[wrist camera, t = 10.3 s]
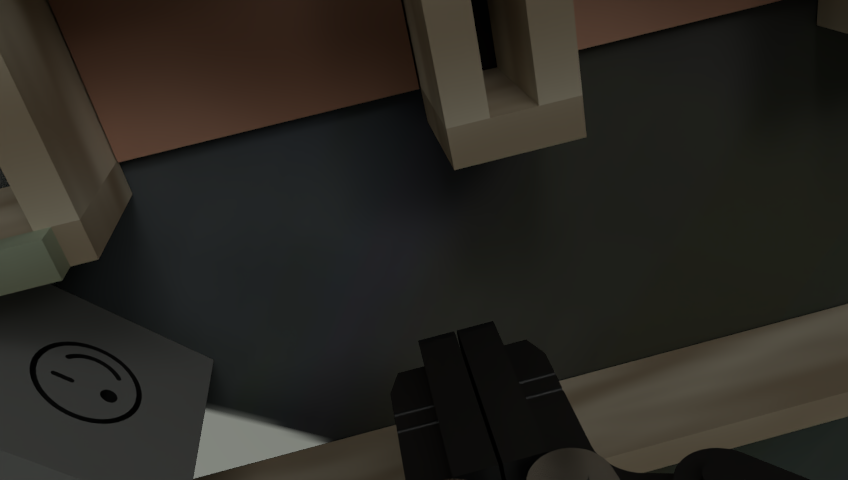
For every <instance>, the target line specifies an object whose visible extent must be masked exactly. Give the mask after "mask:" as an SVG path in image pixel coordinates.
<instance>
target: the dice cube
mask: <svg viewBox="0 0 848 480" xmlns="http://www.w3.org/2000/svg"><path fill="white" fill-rule="evenodd" d="M213 361H214V360H213V359H210V358H208V357H206V356H204V355H202V354H200V353H198V352H195V351H193V350H191V349H189V348H187V347H185V346H182V345H180V344H178V343H176V342H174V341H172V340H170V339H167V338H165V337H163V336H161V335H159V334H157V333H154V332H152V331H150V330H148V329H146V328H144V327H142V326H139V325H137V324H135V323H133V322H131V321H129V320H126V319H124V318H122V317H120V316H118V315H116V314H114V313H111V312H109V311H107V310H105V309H103V308H101V307H98V306H96V305H94V304H92V303H90V302H88V301H86V300H83V299H81V298H79V297H77V296H75V295H73V294H70V293H68V292H66V291H64V290H62V289H60V288H58V287H55V286H53V285H51V284H46V285H42V286H38V287H34V288H30V289H26V290H22V291H18V292H14V293H10V294H6V295H2V296H0V480H193V476H194V470H195V465H196V459H197V453H198V447H199V441H200V436H201V430H202V424H203V419H204V413H205V407H206V402H207V396H208V390H209V384H210V379H211V373H212V367H213Z"/></svg>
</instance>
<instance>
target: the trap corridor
mask: <svg viewBox="0 0 848 480" xmlns="http://www.w3.org/2000/svg"><path fill="white" fill-rule="evenodd" d="M777 1H781V0H487V3H488V10H489V16H490V23H491V30H492V36H493V43H494V49H495V56H496V62H497V67H496V68H492V69H488V70H484V71H482V65H481V59H480V53H479V47H478V41H477V35H476V29H475V22H474V16H473V10H472V4H471V0H403V5H404V10H405V15H406V20H407V24H408V29H409V34H410V39H411V44H412V49H413V53H414V58H415V63H416V68H417V73H418V78H419V82H420V87H421V92H422V97H423V102H424V107H425V111H426V116H427V121H428V123H429V125H430V127H431V129H432V130H433V132H434V134H435V136H436V138H437V139H438V141H439V143H440V145H441V147H442V149H443V150H444V152H445V154H446V156H447V158H448V160H449V161H450V163H451V165H452V167H453V169H454V170H457V169H461V168H465V167H469V166H473V165H477V164H481V163H485V162H489V161H493V160H497V159H501V158H505V157H509V156H513V155H517V154H521V153H525V152H529V151H533V150H537V149H541V148H545V147H549V146H553V145H557V144H561V143H565V142H569V141H573V140H577V139H581V138H585V137H587V136H586V126H585V116H584V106H583V96H582V86H581V76H580V66H579V56H578V50H581V49H585V48H589V47H593V46H597V45H601V44H605V43H609V42H613V41H617V40H622V39H626V38H630V37H634V36H638V35H642V34H646V33H650V32H654V31H658V30H662V29H667V28H671V27H675V26H679V25H683V24H687V23H691V22H695V21H699V20H703V19H707V18H712V17H716V16H720V15H724V14H728V13H732V12H736V11H740V10H744V9H748V8H752V7H757V6H761V5H765V4H769V3H773V2H777ZM817 25H818V26H821V27H825V28H828V29H832V30H836V31H839V32H843V33H846V34H848V0H818V12H817ZM417 89H419V85H418V80H417V75H416V70H415V65H414V61H413V56H412V51H411V46H410V41H409V37H408V32H407V27H406V22H405V17H404V12H403V8H402V3H401V0H0V168H1V170H2V171H3V173H4V175H5V177H6V179H7V181H8V183H9V185H10V186H9V187H5V188H0V296H2V295H6V294H10V293H14V292H18V291H22V290H26V289H30V288H34V287H38V286H42V285H46V284H50V283H54V282H58V281H62V280H63V279H64V277H65V275H66V273H67V272H68V270H69V268H70V267H71V266H75V265H79V264H83V263H87V262H90V261H94V260H98V259H99V258H100V256H101V254H102V252H103V250H104V248H105V246H106V244H107V242H108V240H109V239H110V237H111V235H112V233H113V231H114V229H115V227H116V225H117V223H118V221H119V219H120V217H121V215H122V213H123V212H124V210H125V208H126V206H127V204H128V202H129V200H130V198H131V196H132V192H131V190H130V187H129V185H128V183H127V180H126V178H125V176H124V173H123V171H122V169H121V166H120V164H119V162H122V161H127V160H131V159H135V158H139V157H143V156H147V155H151V154H155V153H159V152H163V151H167V150H172V149H176V148H180V147H184V146H188V145H192V144H196V143H200V142H204V141H208V140H212V139H217V138H221V137H225V136H229V135H233V134H237V133H241V132H245V131H249V130H253V129H257V128H262V127H266V126H270V125H274V124H278V123H282V122H286V121H290V120H294V119H298V118H302V117H307V116H311V115H315V114H319V113H323V112H327V111H331V110H335V109H339V108H343V107H347V106H352V105H356V104H360V103H364V102H368V101H372V100H376V99H380V98H384V97H388V96H392V95H397V94H401V93H405V92H409V91H413V90H417ZM559 382H560V384H561V386H562V390H563V391H564V392H565V394H566V396H567V398H568V400H569V402H570V404H571V406H572V408H573V410H574V412H575V414H576V416H577V418H578V420H579V422H580V424H581V426H582V428H583V430H584V432H585V434H586V436H587V438H588V440H589V442H590V444H591V446H592V447H593V449H594V451H595V452H596V453H597V454H598V455H600V456H601V457H603V458H604V459H605V460H606V461H608V462H609V464H611V465H613V466H615V467H617V468H620V469H623V470H626V471H630V472H636V473H645V472H648V471H652V470H655V469H659V468H663V467H666V466H670V465H674V464H677V463H680V461H681V460H682V459H683V458H685V457H686V456H687V455H689V454H691V453H693V452H695V451H698V450H702V449H707V448H726V449H732V448H735V447H739V446H742V445H746V444H750V443H753V442H757V441H761V440H764V439H768V438H771V437H775V436H779V435H782V434H786V433H790V432H793V431H797V430H800V429H804V428H808V427H811V426H815V425H819V424H822V423H826V422H829V421H833V420H837V419H840V418H844V417H848V304H845V305H841V306H838V307H834V308H830V309H827V310H823V311H819V312H815V313H812V314H808V315H804V316H800V317H797V318H793V319H789V320H785V321H782V322H778V323H774V324H770V325H767V326H763V327H759V328H756V329H752V330H748V331H744V332H741V333H737V334H733V335H729V336H726V337H722V338H718V339H714V340H711V341H707V342H703V343H699V344H696V345H692V346H688V347H685V348H681V349H677V350H673V351H670V352H666V353H662V354H658V355H655V356H651V357H647V358H643V359H640V360H636V361H632V362H629V363H625V364H621V365H617V366H614V367H610V368H606V369H602V370H599V371H595V372H591V373H587V374H584V375H580V376H576V377H572V378H569V379H565V380H561V381H559ZM193 480H405V475H404V469H403V463H402V457H401V452H400V446H399V440H398V433H397V428H396V425H393V426H389V427H386V428H382V429H378V430H374V431H371V432H367V433H363V434H360V435H356V436H352V437H348V438H345V439H341V440H337V441H333V442H330V443H326V444H322V445H318V446H315V447H311V448H307V449H303V450H300V451H296V452H292V453H289V454H285V455H281V456H278V457H274V458H270V459H266V460H262V461H259V462H255V463H251V464H247V465H244V466H240V467H236V468H233V469H229V470H226V471H221V472H218V473H214V474H210V475H206V476H203V477H199V478H195V479H193Z"/></svg>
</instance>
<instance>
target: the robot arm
mask: <svg viewBox="0 0 848 480" xmlns="http://www.w3.org/2000/svg"><path fill="white" fill-rule="evenodd" d="M457 335H458V340H459V344H458V341H457V338H456V335H455V333H454V332H450V333H446V334H442V335H439V336H435V337H431V338H427V339H423V340H419V341H418V342H419V346H420V350H421V354H422V358H423V362H424V367H420V368H416V369H413V370H409V371H405V372H401V373H398V375H397V378H396V380H395V383H394V386H393V388H392V391H391V399H392V405H393V411H394V416H395V423H396V428H397V433H398V440H399V446H400V452H401V457H402V463H403V469H404V475H405V480H809V479H807V478H804V477H802V476H799V475H797V474H794V473H792V472H789V471H787V470H784V469H782V468H779V467H777V466H774V465H772V464H769V463H767V462H764V461H762V460H759V459H757V458H754V457H752V456H749V455H747V454H744V453H741V452H738V451H735V450H731V449H726V448H707V449H702V450H698V451H695V452H693V453H691V454H689V455H687V456H686V457H685V458H683V459H682V460H681V461H680V463H679V464H678V465H677V467H676V469H675V472H674V474H665V473H636V472H630V471H626V470H623V469H620V468H617V467H615V466H613V465H611V464H609V462H608V461H606V460H605V459H604V458H603V457H601V456H600V455H598V454H597V453H596V452H595V451H594V449H593V447H592V446H591V444H590V442H589V440H588V438H587V436H586V434H585V432H584V430H583V428H582V426H581V424H580V422H579V420H578V418H577V416H576V414H575V412H574V410H573V408H572V406H571V404H570V402H569V400H568V398H567V396H566V394H565V392H564V391H563V390H562V386H561V384H560V382H559V380H558V378H557V376H556V375H555V373H554V370H553V368H552V366H551V364H550V362H549V360H548V358H547V356H546V354H545V353H544V352H543V351H541V350H540V349H538V348H537V347H536V346H534V345H533V344H532V343H530V342H529V341H527V340H523V341H519V342H516V343H512V344H508V345H503V343H502V340H501V338H500V336H499V333H498V331H497V329H496V326H495V324H494V322H493V321H492V322H488V323H484V324H480V325H477V326H473V327H469V328H465V329H461V330H457ZM459 345H460V347H459ZM460 349H461V350H460Z"/></svg>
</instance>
